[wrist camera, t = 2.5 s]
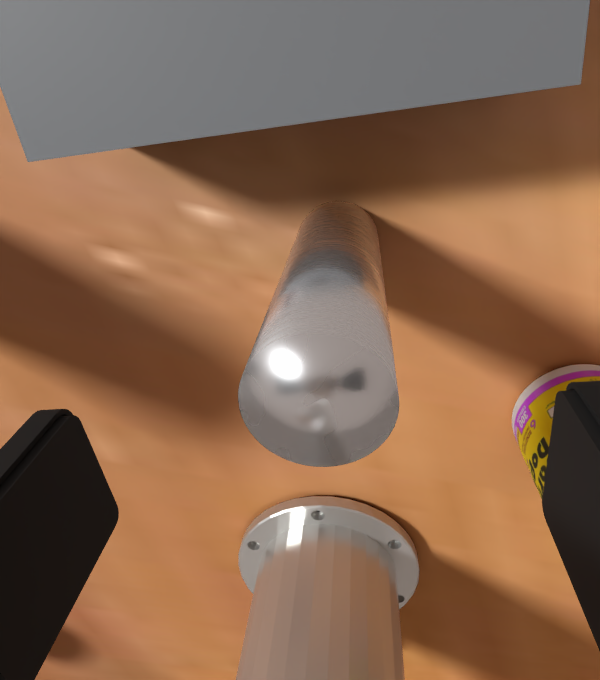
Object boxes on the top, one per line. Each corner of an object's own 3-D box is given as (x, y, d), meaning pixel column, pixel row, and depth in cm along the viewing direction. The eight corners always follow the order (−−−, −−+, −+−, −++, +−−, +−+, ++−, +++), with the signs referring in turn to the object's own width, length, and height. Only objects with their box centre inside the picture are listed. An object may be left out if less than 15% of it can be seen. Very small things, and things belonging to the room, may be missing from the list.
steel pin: (380, 276, 25) (402, 464, 13) (303, 282, 26) (253, 468, 13) (375, 196, 23) (395, 326, 11) (292, 205, 24) (223, 339, 12)
